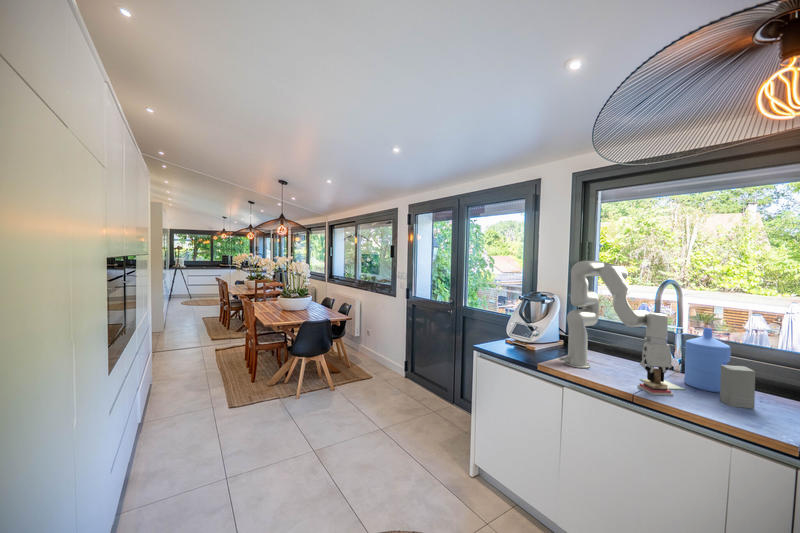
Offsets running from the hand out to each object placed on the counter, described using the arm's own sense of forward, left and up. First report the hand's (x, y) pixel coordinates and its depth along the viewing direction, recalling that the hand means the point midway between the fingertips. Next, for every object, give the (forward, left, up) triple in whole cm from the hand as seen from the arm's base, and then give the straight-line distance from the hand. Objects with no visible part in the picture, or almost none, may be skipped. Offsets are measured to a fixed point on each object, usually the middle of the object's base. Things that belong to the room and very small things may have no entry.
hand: (655, 380), depth 143 cm
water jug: (+30, +8, -5) cm, 32 cm away
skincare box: (+24, -12, -5) cm, 27 cm away
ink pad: (0, 0, -5) cm, 5 cm away
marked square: (+10, +9, -5) cm, 14 cm away
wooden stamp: (0, 0, -3) cm, 3 cm away
